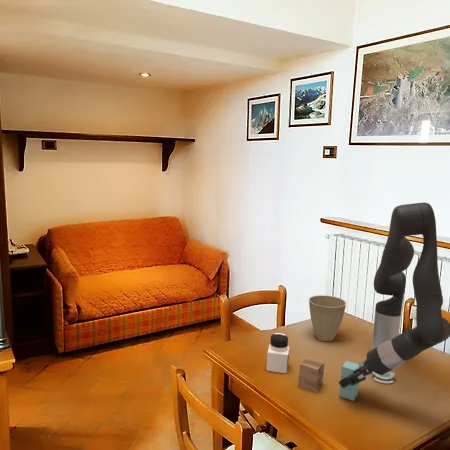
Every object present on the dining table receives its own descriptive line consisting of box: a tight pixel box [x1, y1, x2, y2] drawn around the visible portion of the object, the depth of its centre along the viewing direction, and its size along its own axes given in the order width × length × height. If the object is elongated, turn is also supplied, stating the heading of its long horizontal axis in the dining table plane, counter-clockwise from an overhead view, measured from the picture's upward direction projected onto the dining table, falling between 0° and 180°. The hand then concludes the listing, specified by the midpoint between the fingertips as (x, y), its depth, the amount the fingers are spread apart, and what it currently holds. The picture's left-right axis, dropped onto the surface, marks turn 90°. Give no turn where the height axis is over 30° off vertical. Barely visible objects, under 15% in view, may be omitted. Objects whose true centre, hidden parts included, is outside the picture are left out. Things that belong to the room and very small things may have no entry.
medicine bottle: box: [266, 332, 290, 374], centre depth 150 cm, size 7×7×12 cm
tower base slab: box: [297, 374, 324, 393], centre depth 139 cm, size 6×6×4 cm
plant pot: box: [308, 294, 347, 342], centre depth 176 cm, size 15×15×16 cm
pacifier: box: [372, 371, 396, 385], centre depth 145 cm, size 7×6×6 cm
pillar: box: [338, 360, 360, 402], centre depth 134 cm, size 4×4×10 cm
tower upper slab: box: [298, 356, 325, 381], centre depth 139 cm, size 6×6×4 cm
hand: (343, 381), depth 135 cm, fingers open, 5 cm apart
